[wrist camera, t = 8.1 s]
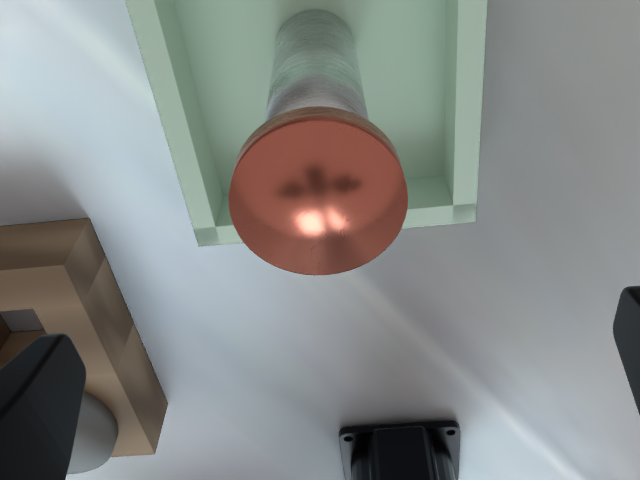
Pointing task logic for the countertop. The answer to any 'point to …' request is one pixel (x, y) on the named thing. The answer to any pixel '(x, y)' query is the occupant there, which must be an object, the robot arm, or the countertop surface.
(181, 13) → the tray
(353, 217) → the lock pin
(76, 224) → the block
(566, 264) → the countertop surface
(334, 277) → the countertop surface
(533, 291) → the countertop surface
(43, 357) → the robot arm
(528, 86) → the countertop surface
